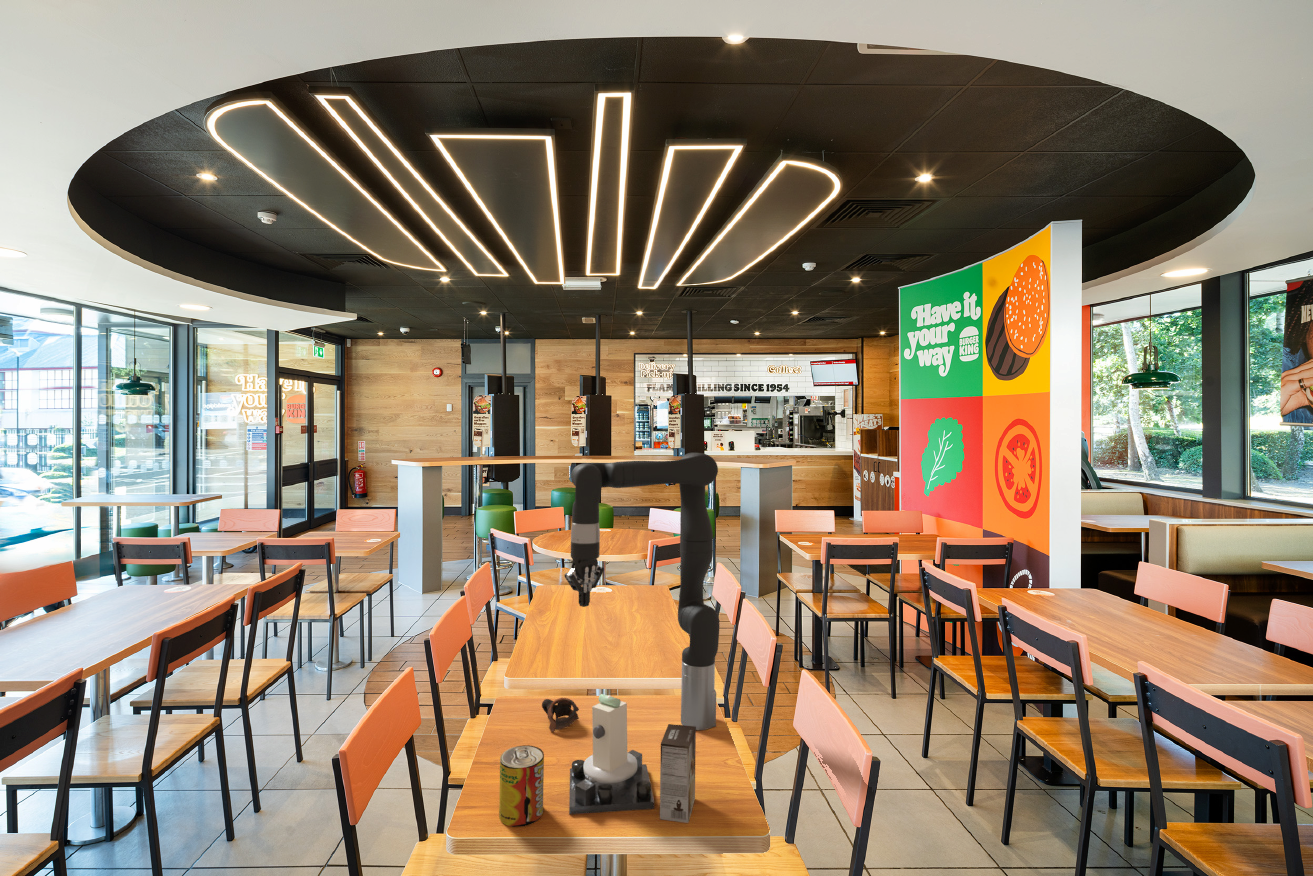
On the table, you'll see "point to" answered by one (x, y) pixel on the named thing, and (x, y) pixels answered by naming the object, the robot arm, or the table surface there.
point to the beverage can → (521, 786)
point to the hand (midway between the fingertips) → (584, 605)
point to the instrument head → (609, 743)
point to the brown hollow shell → (560, 712)
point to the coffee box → (677, 773)
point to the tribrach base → (618, 793)
